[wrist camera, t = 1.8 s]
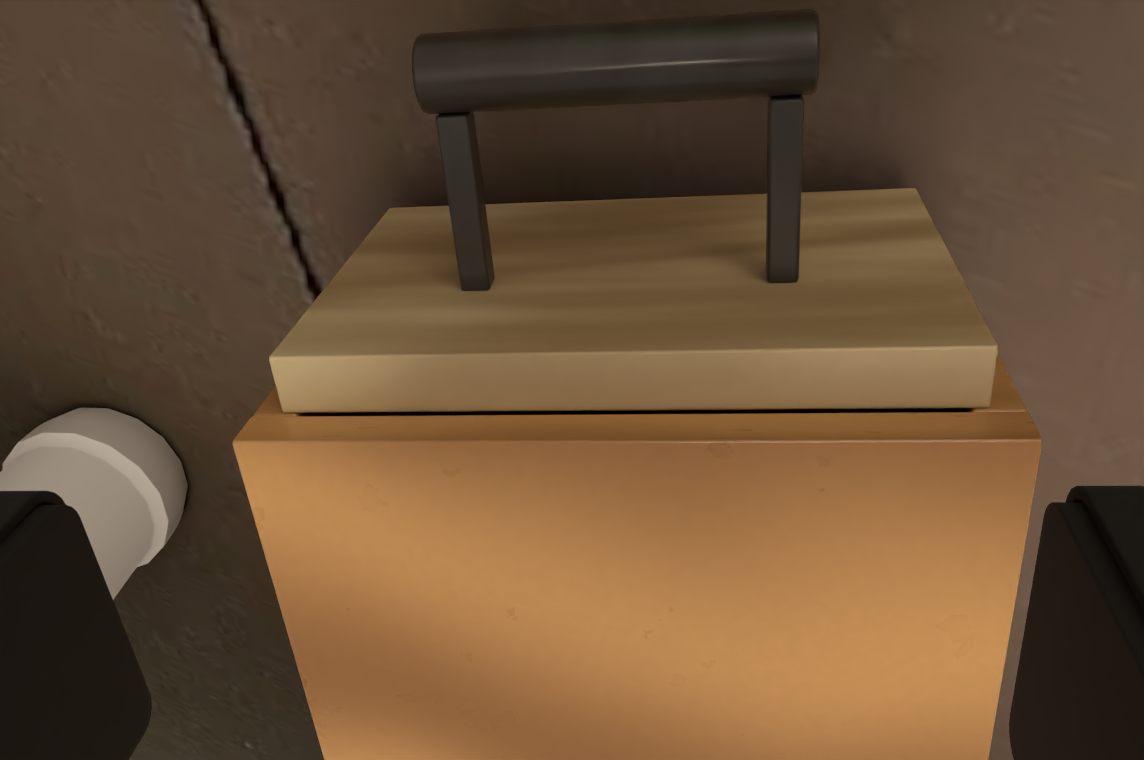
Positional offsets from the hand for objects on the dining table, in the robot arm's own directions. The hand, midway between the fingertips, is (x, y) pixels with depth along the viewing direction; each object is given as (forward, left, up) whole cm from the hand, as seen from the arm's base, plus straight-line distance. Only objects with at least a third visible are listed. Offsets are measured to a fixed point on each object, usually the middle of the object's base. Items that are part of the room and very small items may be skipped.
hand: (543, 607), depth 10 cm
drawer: (+6, 0, -16) cm, 17 cm away
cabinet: (+10, 0, -17) cm, 20 cm away
